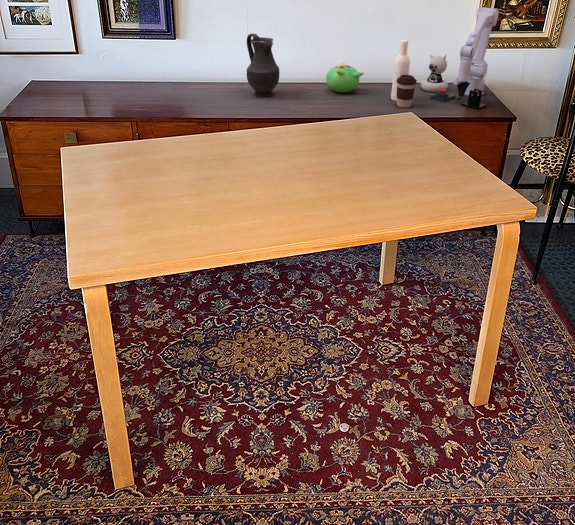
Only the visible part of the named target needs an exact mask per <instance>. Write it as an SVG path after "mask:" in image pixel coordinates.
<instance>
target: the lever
mask: <svg viewBox="0 0 575 525" xmlns="http://www.w3.org/2000/svg"><path fill="white" fill-rule="evenodd" d="M477 92H478V95H479V91H477ZM467 98H469V95H464V96H463V97H460V96H459V97H457V98H456V101H460V100H463V99H467Z"/></svg>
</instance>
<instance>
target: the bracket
mask: <svg viewBox="0 0 575 525" xmlns="http://www.w3.org/2000/svg"><path fill="white" fill-rule="evenodd" d="M477 91H479V95H478V92H477ZM482 91H483V92H484V89H483V90H479V89H474V91H473V90H470V92H469V97H467V98H468V99H467V101H463V102H461V103H460V106H462V107H466V108H469V109H473V110H477V111H478V110H481V109H484V108H487V104H485V103H481V101H482V95H483V94H482Z"/></svg>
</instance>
